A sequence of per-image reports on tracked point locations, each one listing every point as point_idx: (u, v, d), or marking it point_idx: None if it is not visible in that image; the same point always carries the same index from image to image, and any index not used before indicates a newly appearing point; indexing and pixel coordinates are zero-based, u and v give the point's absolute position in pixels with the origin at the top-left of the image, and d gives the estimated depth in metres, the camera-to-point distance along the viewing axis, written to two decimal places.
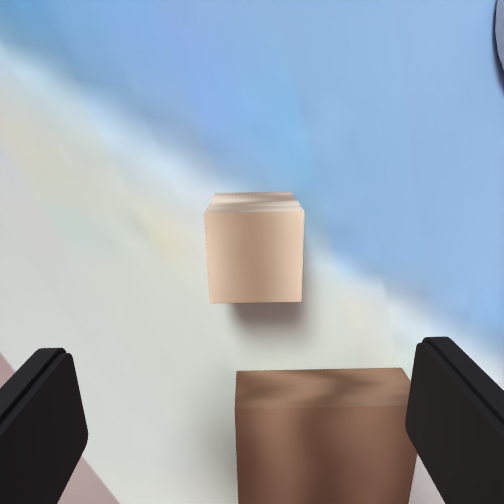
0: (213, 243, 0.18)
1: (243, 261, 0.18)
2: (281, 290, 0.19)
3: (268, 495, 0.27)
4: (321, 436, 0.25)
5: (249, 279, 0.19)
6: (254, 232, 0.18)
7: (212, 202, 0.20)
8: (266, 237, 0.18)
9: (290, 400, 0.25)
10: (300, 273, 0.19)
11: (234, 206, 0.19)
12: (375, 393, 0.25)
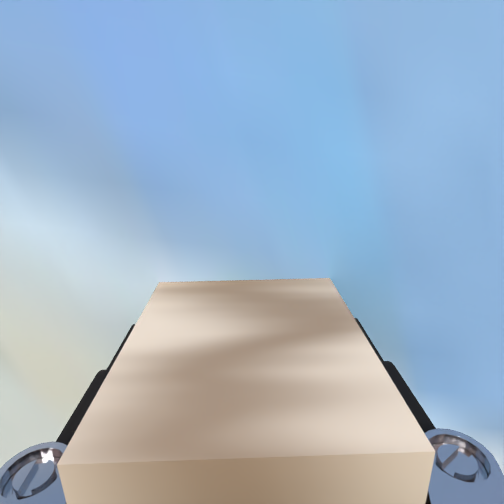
0: None
1: None
2: None
3: None
4: None
5: None
6: None
7: (130, 344, 0.07)
8: None
9: None
10: None
11: (186, 381, 0.06)
12: None
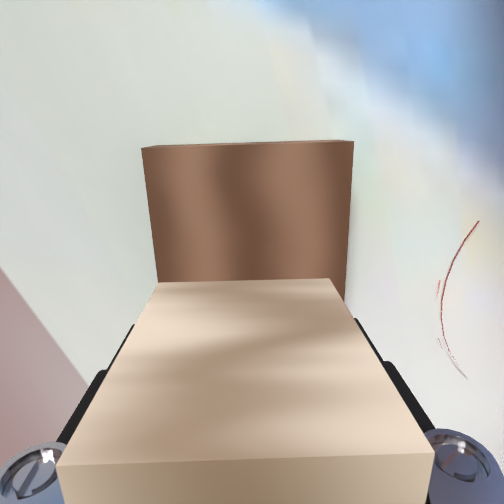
0: None
1: None
2: None
3: (190, 271, 0.24)
4: (241, 187, 0.22)
5: None
6: None
7: (130, 345, 0.07)
8: None
9: (205, 145, 0.22)
10: None
11: (185, 382, 0.06)
12: (301, 142, 0.23)
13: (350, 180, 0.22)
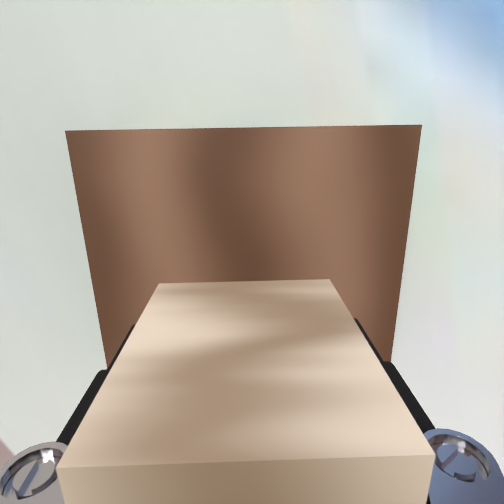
0: None
1: None
2: None
3: None
4: (233, 198, 0.14)
5: None
6: None
7: (130, 346, 0.07)
8: None
9: None
10: None
11: (185, 383, 0.06)
12: None
13: (411, 189, 0.14)
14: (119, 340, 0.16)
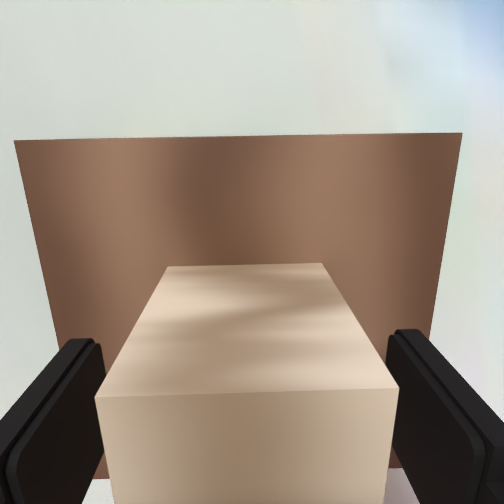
0: (128, 470, 0.06)
1: None
2: None
3: None
4: (227, 223, 0.11)
5: None
6: (249, 442, 0.06)
7: (146, 314, 0.08)
8: (283, 454, 0.06)
9: None
10: None
11: (196, 341, 0.07)
12: None
13: (447, 212, 0.11)
14: None
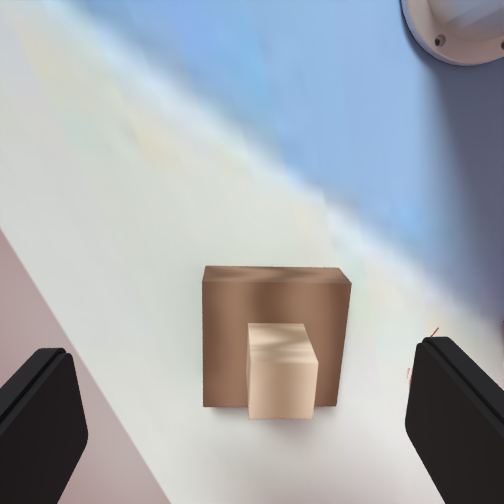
0: (255, 381, 0.26)
1: (275, 392, 0.27)
2: (299, 411, 0.27)
3: (228, 364, 0.33)
4: (270, 309, 0.31)
5: (278, 404, 0.27)
6: (283, 375, 0.26)
7: (251, 342, 0.28)
8: (291, 378, 0.26)
9: (246, 279, 0.31)
10: (313, 400, 0.27)
11: (268, 351, 0.27)
12: (314, 277, 0.32)
13: (347, 307, 0.32)
14: (211, 369, 0.33)
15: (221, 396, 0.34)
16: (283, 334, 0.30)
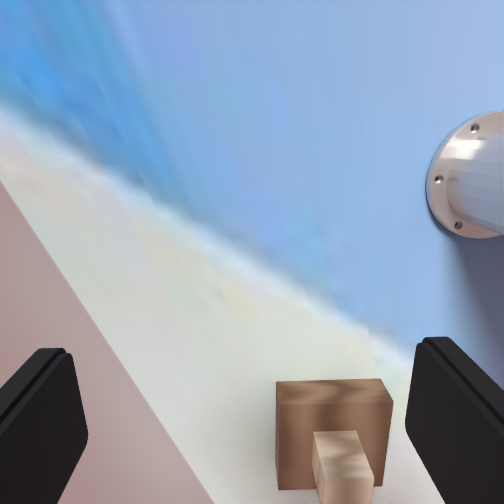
0: (327, 491, 0.36)
1: (342, 497, 0.36)
2: None
3: (297, 460, 0.42)
4: (330, 421, 0.41)
5: None
6: (348, 486, 0.36)
7: (320, 455, 0.38)
8: (354, 488, 0.36)
9: (311, 400, 0.41)
10: (370, 501, 0.37)
11: (335, 465, 0.37)
12: (363, 395, 0.41)
13: (390, 418, 0.41)
14: (284, 464, 0.43)
15: (292, 482, 0.44)
16: (343, 444, 0.39)
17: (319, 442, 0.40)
